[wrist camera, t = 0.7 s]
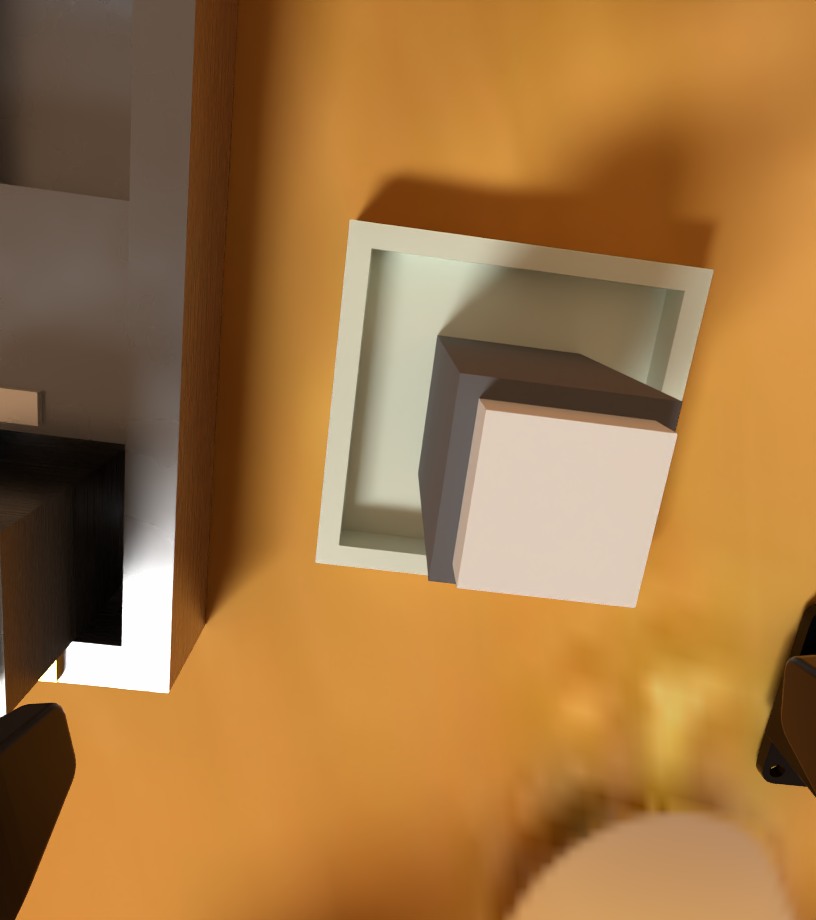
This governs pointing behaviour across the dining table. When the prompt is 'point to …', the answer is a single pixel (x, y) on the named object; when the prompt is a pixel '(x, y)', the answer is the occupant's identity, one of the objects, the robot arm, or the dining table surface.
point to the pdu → (109, 333)
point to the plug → (541, 472)
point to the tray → (477, 318)
